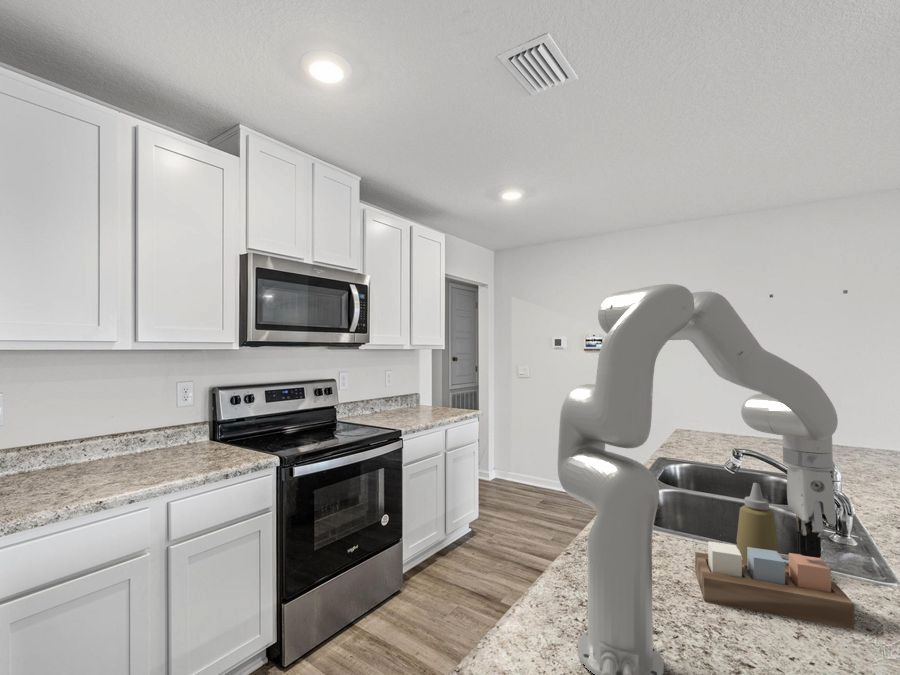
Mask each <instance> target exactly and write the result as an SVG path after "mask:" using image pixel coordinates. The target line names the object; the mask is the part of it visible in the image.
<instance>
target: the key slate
mask: <svg viewBox="0 0 900 675" xmlns="http://www.w3.org/2000/svg"><path fill="white" fill-rule="evenodd" d="M785 566H786V562H785V560H784V559H783V558H782V556H781V555H780V553H778V552H777V551H772V550H765V549H758V548H751V547H747V568H748V573H749V575H750V577H751V579H755V580H761V581H767V582H772V583H778V584H784V585H785Z"/></svg>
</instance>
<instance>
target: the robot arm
mask: <svg viewBox="0 0 900 675" xmlns="http://www.w3.org/2000/svg"><path fill="white" fill-rule="evenodd" d="M597 320H598V323H599V325H600V327H601V329H602V330H603V332H605V333H606V335H605V338H604V340H603V342H602V344H601V346H600V350H599V353H598V359H597V368H596V377H595V383H594V384H593V383H587V384H581V385H578V386H576V387H574V388H573V389H572V390H571V391H570V392H569V393H568V394H567V396H566V397H565V399H564V401H563V403H562V406H561V408H560V409H561V410H560V413H559V414H560V415H559V427H558V429H559V431H558V444H557V445H558V448H557V477H558V480H559V483H560V485H561V487H562V489H563V490H564V491H565V492H566V493H567V494H568V495H569V496H570V497H572V498H573V499H576V500H577V501H579V502H581V503H583V504H586V506H589V507H590V508H592V509H594V510H595V511H596V517H595V519H594V522H593V523H592V525H591V527H590V530H589V532H588V535H587V543H586V545H587V546H586V548H587V549H586V550H587V552H586V554H587V631H586V632H584V633H583V634H582V635H580V637H579V639H578V641H577V655H578V659H579V660H580V663H581V664H582V665H583V664H584V665H585V666H584V665H583V666H584V668H585V669H586V668H587V669H588V670H589V671H588V670H587V669H586V670H587V671H588V672H590V671H591V672H592V673H593V674H595V675H663V674H664V675H665V662H664V658H663V657H662V655H661V654H660V652H659V651H658V650H657V648H656V647H655V646H654V644H653V643H654V642H653V641H654V640H653V639H654V638H653V636H654V635H653V633H654V632H653V630H654V629H653V622H654V621H653V537H654V536H653V534H654V525H655V520H656V515H657V510H658V505H659V500H660V499H659V498H660V488H659V484H658V482H657V479H656V477H655V475H654V474H653V472H652V471H651V470H650V469H649V468H648V467H646V466H645V465H644V464H642V463H641V462H639V461H637V460H634V459H632V458H630V457H627V456H624V455H622V454H618V453H615V452H611V451H608V450H606V445H609V446H612V447H616V448H622V449H636V448H639V447H642V446H643V445H644V444H645V443H646V442H647V441H648V439H649V436H650V433H651V427H652V412H653V395H654V394H653V393H654V391H653V390H654V375H655V366H656V362H657V358H658V356H659V353H660V352H661V350H662V349H663V347H664V346H665V345H666V343H668V341H689V342H691V343H692V345H693V346H695V348H696V349H697V351H698V352H699V353H700V354H701V356H702V357H703V359H705V360H706V362H707V363H708V366H710V368H712V370H713V372H714V373H715V374H716V375H717V376H718V377H720V378H721V379H723V380H725V381H727V382H730V383H731V384H735V385H737V386H739V387H742V388H745V389H749V390H750V391H751V390H752V391H754V392H758V393H757V394H754V395H751V396H749V397H747V399H745V401H744V402H743V403H742V406H741V413H740V414H741V417H742V420H743V421H744V423H745V424H746V425H747V426H748V427H749V428H751V429H753V430H755V431H757V432H761V433H765V434H771V435H777V436H782V464H783V465H785V466H787V470H786V471H787V476H786V477H787V478H786V498H787V505H788V508H789V509H790V510H791V511H792V512H793V513H794V514H795V520H796V542H797V543H796V544H797V552H798V554H799V555H802V556H808V557H815V558H822V546H821V545H822V544H821V543H822V541H821V537H822V534H824V525H823V524H824V523H826V524H828V525H829V526H830V527H834V526H836V524H837V516H836V515H837V514H836V505H835V504H836V503H835V495H834V494H835V493H834V485H833V479H832V475H831V474H832V473H831V471H833V470H834V465H833V464H834V461H833V454H834V453H833V435H834V434H835V432H836V431H837V428H838V422H839V420H838V414H837V411H836V408H835V406H834V405H833V402H832V401H831V400H830V397H829V396H828V394H827V393H826V391H825V390H824V389H823V387H822V386H821V385H820V384H819V382H818V381H817V380H816V379H815V378H813V376H811V375H810V374H808V373H807V372H806V371H804V370H802V369H800V368H799V367H797V366H796V365H794V364H792V363H790V362H789V361H787V360H785V359H784V358H781V357H779V355H776V354H774V353H772V352H770V351H768V350H766V349H764V347H762V346H761V344H760V343H759V341H758V340H757V339H756V337H755V336H754V334H753V333H752V332H751V330H750V329H749V328H748V326H747V325H746V324H745V322H744V321H743V319H742V317H741V316H740V315H739V314H738V313H737V311H736V310H735V308H734V307H733V306H732V304H731V303H730V302H729V301H728V299H727V298H726V297H725V296H723V295H722V294H721V293H718V292H715V291H714V292H713V291H696V292H691V290H690V289H688V288H687V287H685V286H683V285H681V284H680V285H679V284H674V283H664V284H663V283H662V284H656V285H650V286H644V287H639V288H635V289H629V290H623V291H619V292H615V293H612V294H610V295H608V296H607V297H605V299H604V300H602V301H601V303H600V306H599V307H598V312H597ZM823 521H824V523H823ZM591 672H590V673H591ZM592 673H591V674H592ZM593 674H592V675H593Z"/></svg>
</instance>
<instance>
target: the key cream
mask: <svg viewBox="0 0 900 675" xmlns="http://www.w3.org/2000/svg"><path fill="white" fill-rule="evenodd" d="M707 554H708V567H709V570H710V572H713V573H719V574H725V575H731V576H737V577H742V555H741V553H740V551H739V548H738V545H735V544H730V543H725V542H724V543H721V542H717V541H707Z"/></svg>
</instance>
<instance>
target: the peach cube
mask: <svg viewBox="0 0 900 675" xmlns="http://www.w3.org/2000/svg"><path fill="white" fill-rule="evenodd" d="M788 566H789V578H790V579H791V581H792V582H793V583H794V585H795V586H796V587H802V588H808V589H814V590H820V591H826V592H831V579H832V569H831V567H829V565H828V564H826V562H825V561H824V560H823V559H822V557H820V558H815V557H808V556H802V555H801V554H800V553H791V552H789V553H788Z"/></svg>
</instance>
